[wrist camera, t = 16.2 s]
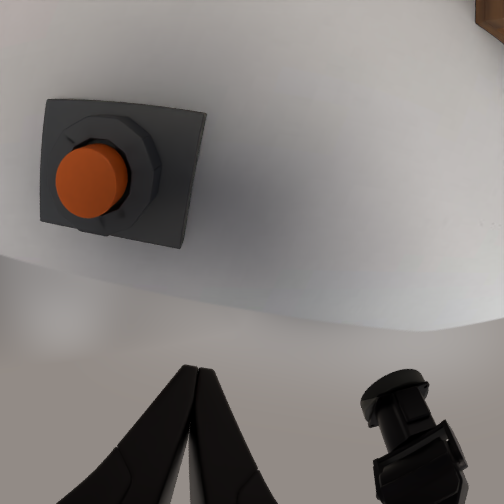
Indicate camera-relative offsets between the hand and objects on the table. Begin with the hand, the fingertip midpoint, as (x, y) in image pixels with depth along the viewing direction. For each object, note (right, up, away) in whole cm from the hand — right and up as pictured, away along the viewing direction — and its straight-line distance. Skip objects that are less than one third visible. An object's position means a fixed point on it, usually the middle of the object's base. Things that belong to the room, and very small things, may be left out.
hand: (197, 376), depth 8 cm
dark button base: (-7, +9, +9) cm, 14 cm away
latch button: (-7, +7, +7) cm, 12 cm away
